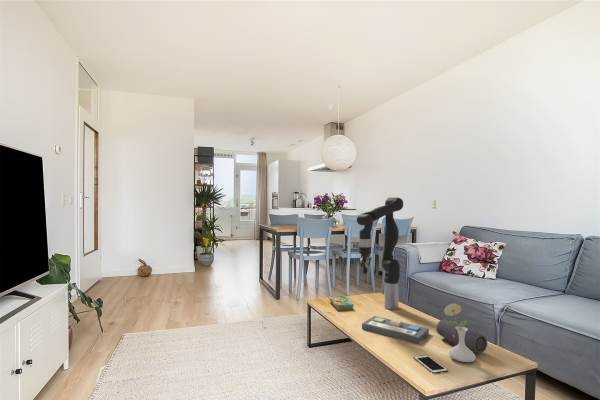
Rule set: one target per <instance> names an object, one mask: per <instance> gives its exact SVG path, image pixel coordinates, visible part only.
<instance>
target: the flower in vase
mask: <svg viewBox="0 0 600 400" xmlns="http://www.w3.org/2000/svg"><path fill="white" fill-rule="evenodd" d="M443 312H444V315H446V316H449V317H454V320H448V321H449V322H448V323H447V324H450V325H454V324H455V323H456V324H458V327H456V329H457V331H458V334H459V344H458V345H457V346H456V345H454V346H453V347H451V348H450V349H449V350H448V352H447V353H448V356H449V357H451V358H452V359H453V360H456V361H458V362H461V363H472V362H475V360H476V359H477V356H476V355H475V353H474V351H472V350H470V349H469V348H467V347H466V345H465V341H464V339H465V333H466V331H467V330H468V329H469V328H468V327H466V324H467V321H468V320H467V319H466V320H462V321H460V322H459V323H458V321H457V319H456V317H457V316H456V315H459V313H460V312H462V306H461V305H460V304H458V303H450V304H448V305H447V306H445V308H444V310H443ZM460 326H464V327H460ZM465 327H466V328H465ZM467 328H468V329H467Z"/></svg>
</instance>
